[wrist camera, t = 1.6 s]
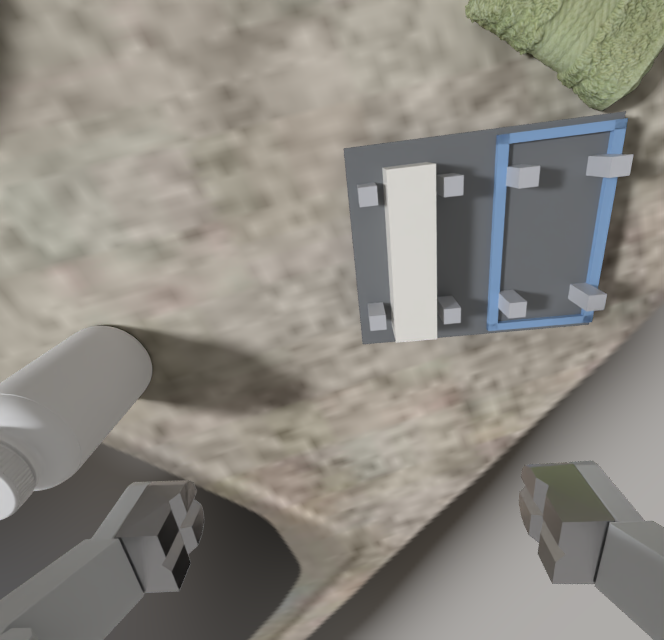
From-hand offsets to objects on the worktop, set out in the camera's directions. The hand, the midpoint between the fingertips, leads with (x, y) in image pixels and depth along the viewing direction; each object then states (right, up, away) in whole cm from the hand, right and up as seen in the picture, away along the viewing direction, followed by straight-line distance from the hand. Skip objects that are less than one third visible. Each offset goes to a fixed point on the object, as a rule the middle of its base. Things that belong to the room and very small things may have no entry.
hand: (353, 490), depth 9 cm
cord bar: (+5, +9, +19) cm, 22 cm away
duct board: (+10, +11, +20) cm, 25 cm away
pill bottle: (-21, +1, +26) cm, 34 cm away
